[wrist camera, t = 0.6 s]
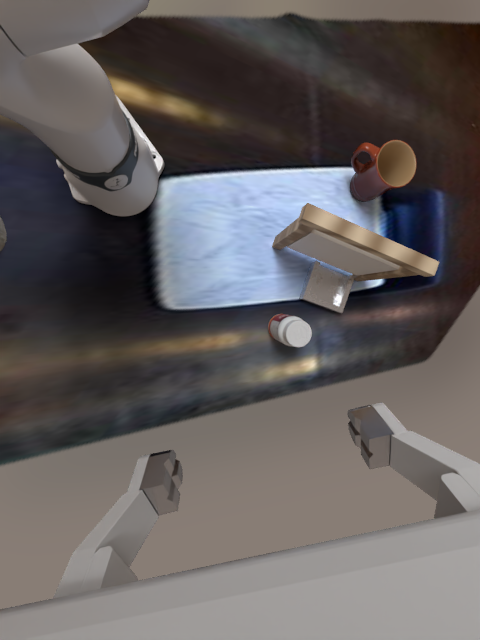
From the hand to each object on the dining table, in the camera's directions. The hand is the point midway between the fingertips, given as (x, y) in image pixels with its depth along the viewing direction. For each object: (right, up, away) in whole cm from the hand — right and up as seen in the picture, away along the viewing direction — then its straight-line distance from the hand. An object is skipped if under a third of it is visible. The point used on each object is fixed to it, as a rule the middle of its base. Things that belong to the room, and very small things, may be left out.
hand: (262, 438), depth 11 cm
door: (+18, +20, +44) cm, 51 cm away
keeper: (+19, +14, +47) cm, 53 cm away
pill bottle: (+8, +4, +46) cm, 47 cm away
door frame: (+17, +19, +46) cm, 53 cm away
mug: (+26, +37, +46) cm, 65 cm away
